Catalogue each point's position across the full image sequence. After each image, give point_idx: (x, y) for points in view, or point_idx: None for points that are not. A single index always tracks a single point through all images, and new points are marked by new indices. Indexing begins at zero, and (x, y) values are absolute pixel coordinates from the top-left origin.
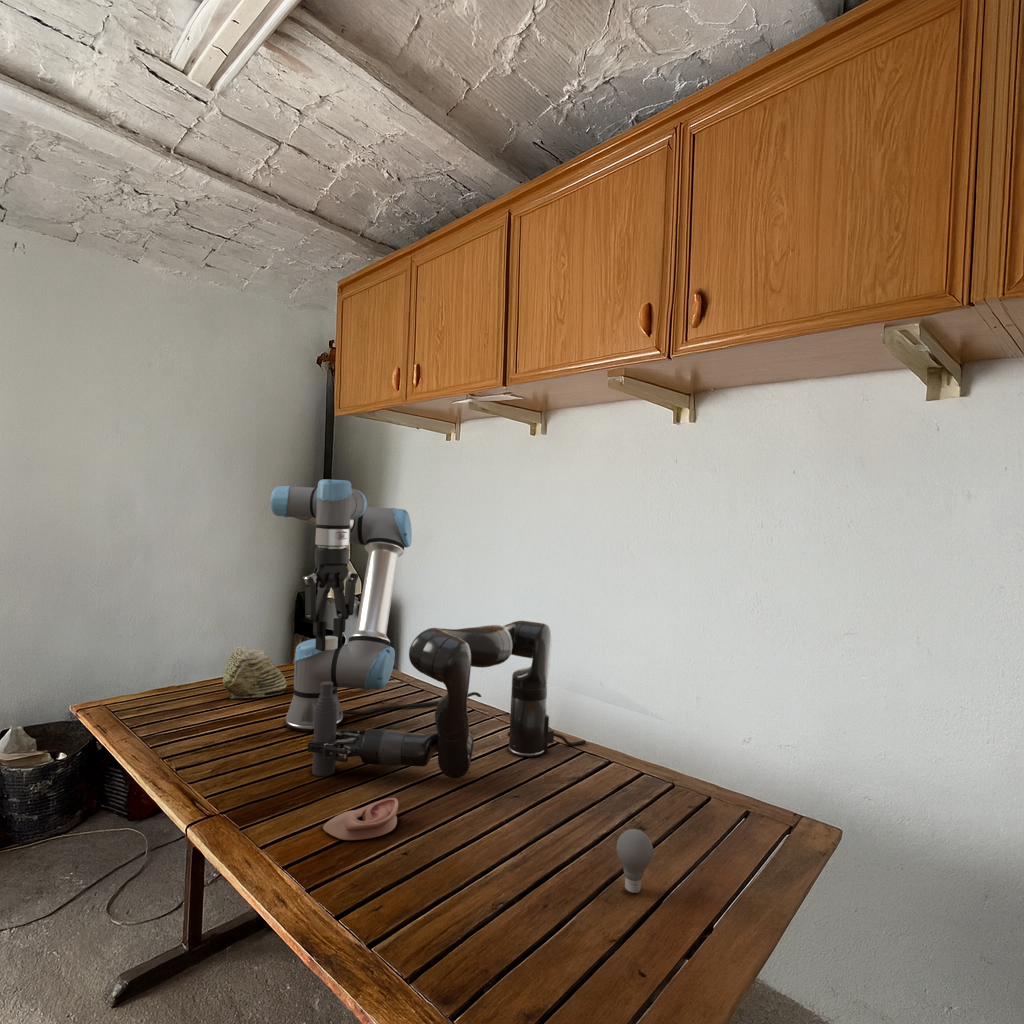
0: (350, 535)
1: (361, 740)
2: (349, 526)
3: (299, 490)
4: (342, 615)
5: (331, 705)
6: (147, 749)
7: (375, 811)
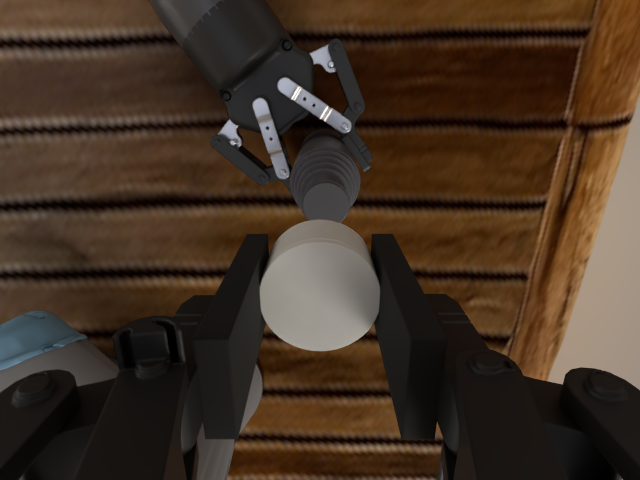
0: None
1: (259, 81)
2: None
3: None
4: (180, 377)
5: (324, 155)
6: None
7: None
